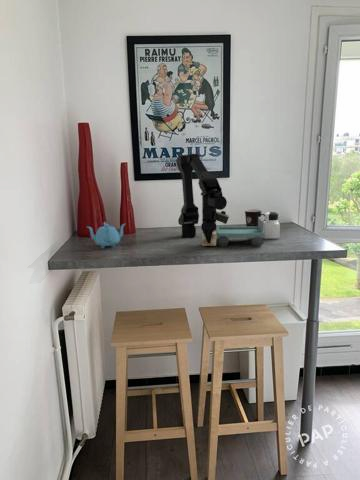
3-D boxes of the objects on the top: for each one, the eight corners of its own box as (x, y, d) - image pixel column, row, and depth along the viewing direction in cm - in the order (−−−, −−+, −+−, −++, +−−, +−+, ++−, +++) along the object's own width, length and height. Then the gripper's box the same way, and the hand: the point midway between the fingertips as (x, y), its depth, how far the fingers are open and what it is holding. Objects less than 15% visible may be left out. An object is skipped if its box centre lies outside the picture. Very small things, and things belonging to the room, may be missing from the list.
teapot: (108, 251, 156) (107, 228, 153) (86, 247, 162) (84, 225, 160) (127, 244, 167) (126, 222, 164) (106, 241, 173) (104, 220, 171)
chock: (202, 245, 157) (202, 234, 156) (202, 242, 162) (202, 232, 161) (216, 245, 156) (216, 234, 155) (215, 242, 161) (215, 231, 160)
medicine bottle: (277, 235, 176) (278, 211, 174) (279, 238, 170) (280, 213, 167) (262, 235, 177) (263, 211, 174) (264, 238, 170) (264, 213, 167)
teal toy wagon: (217, 246, 158) (217, 222, 156) (216, 239, 172) (216, 216, 169) (263, 246, 156) (264, 222, 154) (259, 238, 170) (259, 216, 167)
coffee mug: (241, 228, 194) (242, 209, 192) (255, 226, 197) (256, 208, 194) (252, 232, 184) (252, 213, 181) (266, 230, 186) (267, 211, 184)
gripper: (228, 210, 145) (228, 247, 149) (226, 203, 163) (226, 236, 167) (201, 210, 146) (201, 247, 150) (202, 203, 164) (202, 236, 168)
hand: (209, 241), depth 159 cm, fingers closed on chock, 5 cm apart
